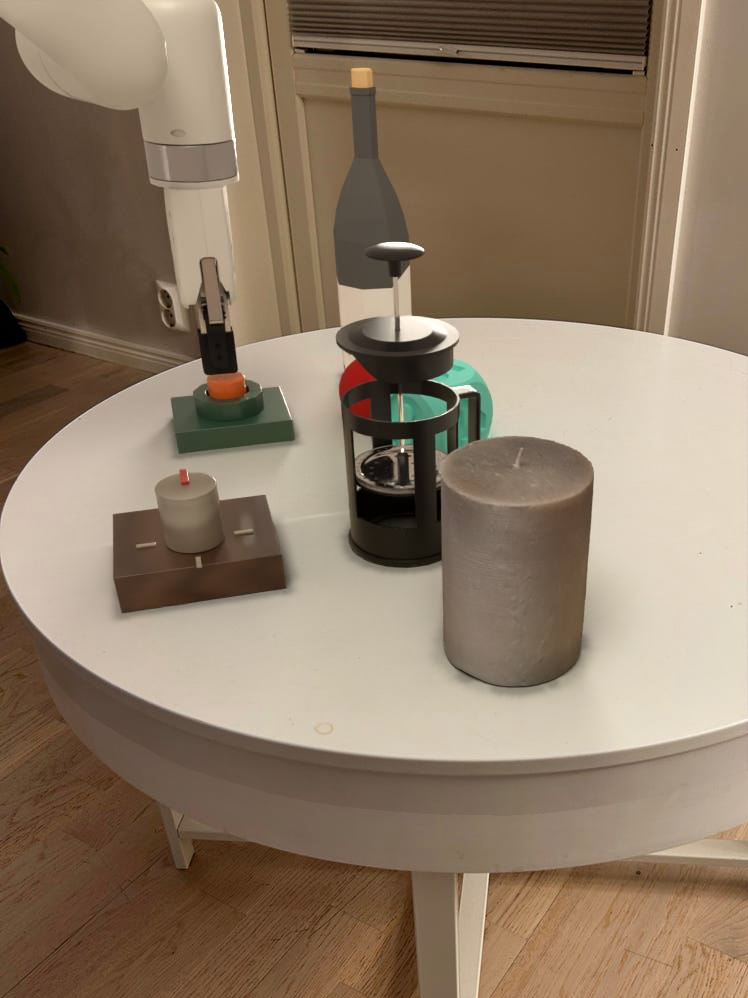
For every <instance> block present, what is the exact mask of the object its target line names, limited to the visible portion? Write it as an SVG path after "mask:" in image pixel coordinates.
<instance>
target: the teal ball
mask: <svg viewBox="0 0 748 998" xmlns="http://www.w3.org/2000/svg"><path fill="white" fill-rule="evenodd" d="M453 360H454V362H453V367H452V368H451V370H449V371H448V372H447V373H445V374H443V375H441V376H439V377H436V378H433V379H430V380H433V381H437V382H441V383H443V384H446V385H448V386H450V387H451V388H456V387H461V386H471V387H473V388H474V389H475V390H476V391H478V392H479V393H480V396H481V432H480V440H483V439H488V437H489V435H490V432H491V427H492V422H493V417H494V406H493V405H494V404H493V398H492V395H491V391H490V389H489V387H488V385H487V383H486V381H485V379H484V378H483V376H482V375H481V374H480V373H479V372H478V370H477V369H476V368H474V366H473V365H471V364H470V363H468V362H466V361H463V360H460V359H456V358H453ZM402 395H403V421H404V422H406V421H417V420H423V419H428V418H432V417H435V416H438V415H441V414H443V413H445V412H447V402H445V401H443V400H441V399H438V398H434V397H431V396H425V395H418V394H402ZM390 397H391V419H392V422H399V408H398V394H390ZM392 440H393V445H397V444H400V440H395V439H392ZM404 444H413V439H404ZM466 444H468V398H465V399H460V416H459V420H458V448H460V447H462V446H464V445H466ZM435 448H436V449H439V450H441V451H443V452H446V453H447V430H446V431H444V432H441V433H438V434H436V435H435Z"/></svg>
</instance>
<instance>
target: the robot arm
mask: <svg viewBox="0 0 748 998" xmlns="http://www.w3.org/2000/svg"><path fill="white" fill-rule="evenodd" d="M0 18H1V19H2V20H4V21H5V22H6V23H7V24H8V25H10V26H11V27H13V28H14V30H15V31H14V35H15V36H14V37H15V43H16V49H17V52H18V53H19V56H20V59H21V61H22V62H23V64H24V66H25V67H26V69H27V71H28V72H29V73H30V74H31V75H32V76H33V77H34V78H35V79H36V80H37V81H38V82H39V83H40V84H42V85H43V86H44V87H46V88H48V89H49V90H50V91H52V92H54V93H56V94H59V95H60V96H63V97H67V98H70V99H72V100H73V99H74V100H77V101H80V102H84V103H90V104H94V105H97V106H101V107H104V108H107V109H111V110H117V111H131V110H136V109H137V110H138V115H139V122H140V127H141V128H140V129H141V135H142V139H143V144H144V145H143V147H144V153H145V158H146V164H147V173H148V178H149V183H150V184H151V185H153V186H155V187H159V188H163V195H164V196H163V197H164V207H165V217H166V223H167V224H166V225H167V231H168V236H169V243H170V250H171V256H172V262H173V269H174V277H175V282H176V288H177V293H178V298H179V302H180V305H181V306H182V307H183V308H184V309H190V306H192V305H193V306H194V305H195V306H196V313H197V320H198V326H199V327H198V328H197V329H196V330H197V337H198V343H199V344H198V345H199V352H200V358H201V364H202V370H203V374H204V375H205V376H209V375H218V374H230V373H236V372H239V366H238V357H237V349H236V342H235V333H234V329H233V326H232V325H231V318H230V310H229V309H230V308H229V306H230V307H231V306H232V305H234V304H235V303H236V301H237V285H236V267H235V256H234V255H235V254H234V244H233V242H234V241H233V232H232V223H231V217H230V216H231V215H230V205H229V198H228V190H227V189H228V188H227V186H231V185H234V184H237V183H238V182H239V181H240V172H239V164H238V155H237V147H236V138H235V137H236V135H235V129H234V128H235V126H234V118H233V110H232V101H231V100H232V99H231V92H230V83H229V74H228V64H227V54H226V47H225V37H224V29H223V19H222V13H221V11H220V8H219V5H218V3H217V1H216V0H0Z"/></svg>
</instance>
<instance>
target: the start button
mask: <svg viewBox="0 0 748 998" xmlns="http://www.w3.org/2000/svg"><path fill="white" fill-rule="evenodd" d="M245 377H246V376H245V375H244V374H243V373H242V372H239V371H237V372H236V373H230V374H218V375H207V377H206V383H207V385H208V392H209V397H211V398H215V399H233V398H237V397H240V396H243V395H246V394H247V391H246V384H245V380H246V378H245Z"/></svg>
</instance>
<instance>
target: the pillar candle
mask: <svg viewBox="0 0 748 998" xmlns="http://www.w3.org/2000/svg"><path fill="white" fill-rule="evenodd" d="M439 466H440V468H439V472H438V473H439V474H440V476H441V525H442V560H441V581H442V582H441V584H442V586H441V589H442V592H441V593H442V594H441V597H442V631H443V632H442V642H443V648H444V649H443V650H444V653H445V655H446V657H447V660H448V661H449V662H450V664H451V665H452V666H453V667H456V668H457V669H458V670H461V671H462V672H464V673H466V674H468V675H470V676H473V677H474V678H477V679H479V680H481V681H483V682H485V683H488V684H491V685H496V686H502V687H529V686H537V685H539V684H543V683H546V682H549V681H551V680H553V679H556V678H558V677H561V676H562V675H563V674H565V673H566V672H567V671H568V670H570V669H571V667H572V666H573V665H574V664H575V663H576V662H577V660H578V659H579V657H580V655H581V651H582V639H583V629H584V621H585V609H586V607H585V605H586V598H587V583H588V582H587V581H588V568H589V555H590V542H591V531H592V528H591V527H592V518H593V515H592V514H593V500H594V483H595V471H594V466H593V464H592V461H590V460H589V459H588V458H587V457H586V456H585V455H584V454H583V453H582V452H581V451H579V450H577V449H575V448H573V447H572V446H569V445H566V444H563V443H560V442H557V441H555V440H551V439H547V438H546V439H545V438H541V437H534V436H524V435H503V436H496V437H489V438H488V437H487V439H483V440H478V441H474V442H471V443H469V444H466V445H464V446H462V447H460V448H458V449H456V450H454V451H453V452H451V453H450V454H449V455H448V456H447V457H446V458H445V459H444V460H443V461H441V462H440V464H439Z"/></svg>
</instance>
